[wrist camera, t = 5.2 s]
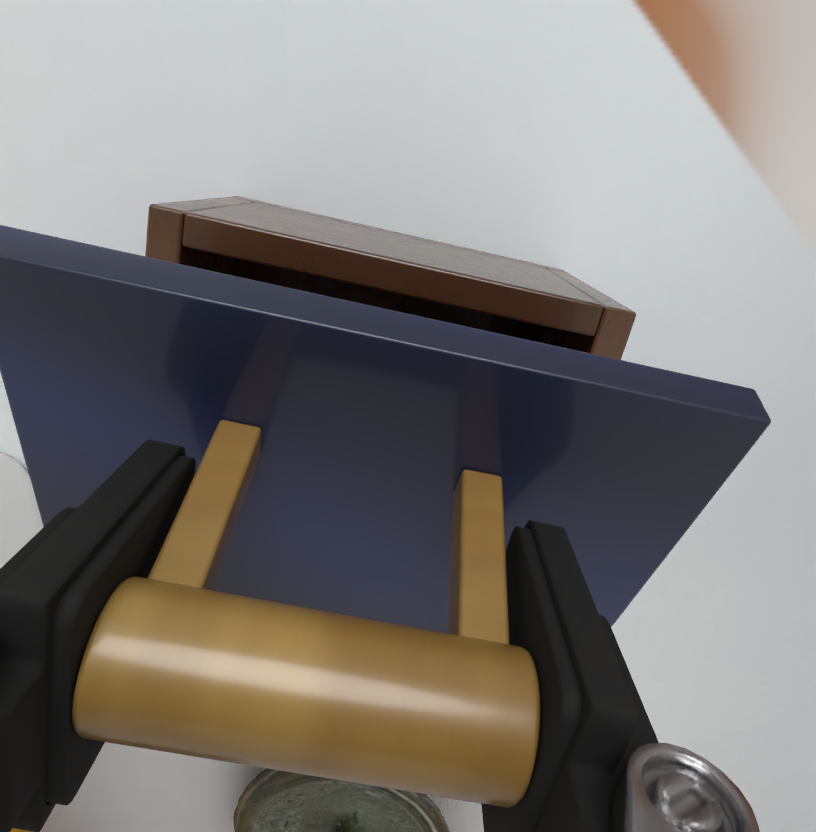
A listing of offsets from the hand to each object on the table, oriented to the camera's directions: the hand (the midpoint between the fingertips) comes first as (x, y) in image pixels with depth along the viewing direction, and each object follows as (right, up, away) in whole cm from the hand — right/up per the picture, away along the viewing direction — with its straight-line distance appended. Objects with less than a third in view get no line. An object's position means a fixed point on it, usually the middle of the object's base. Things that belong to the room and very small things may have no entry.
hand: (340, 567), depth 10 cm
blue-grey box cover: (-1, -2, +4) cm, 5 cm away
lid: (-2, -17, +21) cm, 27 cm away
